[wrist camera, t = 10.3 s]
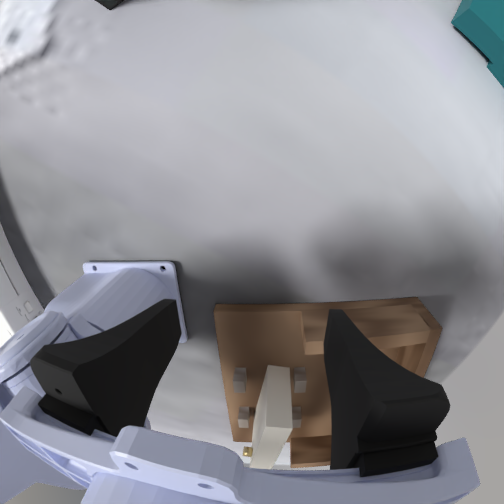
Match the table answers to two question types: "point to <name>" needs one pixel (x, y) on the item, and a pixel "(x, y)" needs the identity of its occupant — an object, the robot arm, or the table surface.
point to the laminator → (14, 294)
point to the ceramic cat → (109, 3)
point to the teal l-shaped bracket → (484, 30)
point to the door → (271, 419)
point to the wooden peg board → (310, 359)
